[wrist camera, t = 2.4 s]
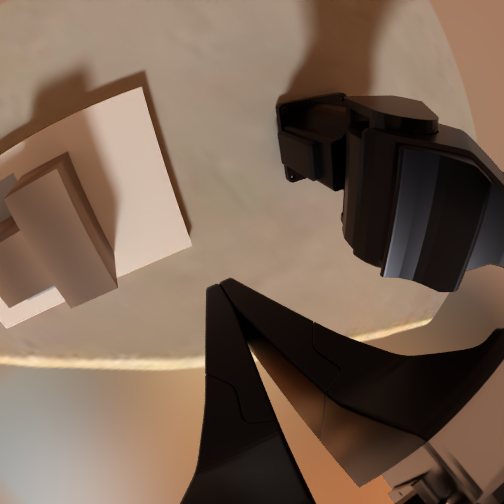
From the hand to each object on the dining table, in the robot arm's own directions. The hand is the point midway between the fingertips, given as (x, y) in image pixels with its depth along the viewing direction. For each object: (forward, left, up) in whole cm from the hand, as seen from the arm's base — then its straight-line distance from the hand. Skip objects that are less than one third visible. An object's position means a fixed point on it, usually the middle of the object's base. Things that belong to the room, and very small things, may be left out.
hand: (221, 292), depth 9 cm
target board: (+8, 0, -13) cm, 16 cm away
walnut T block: (+9, 0, -12) cm, 15 cm away
